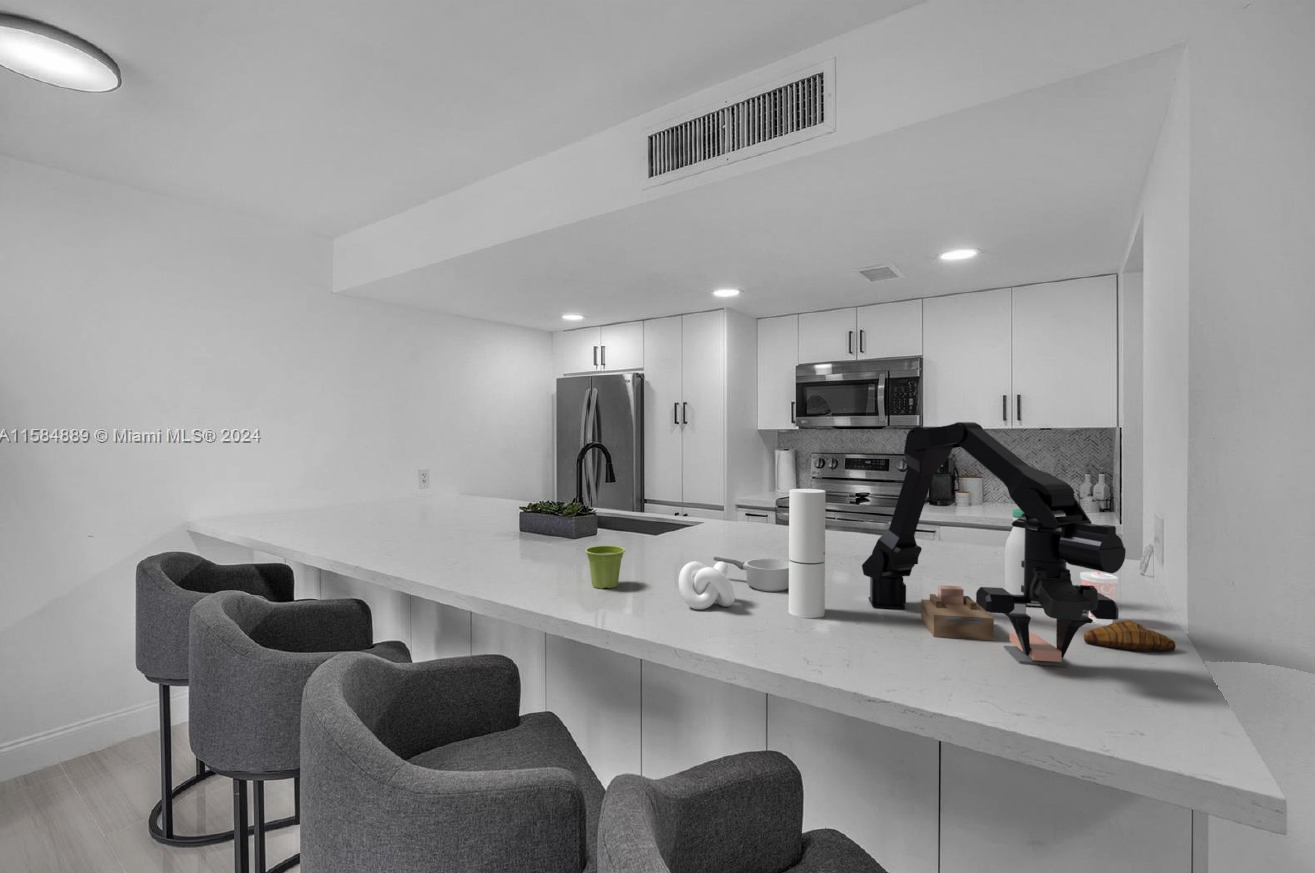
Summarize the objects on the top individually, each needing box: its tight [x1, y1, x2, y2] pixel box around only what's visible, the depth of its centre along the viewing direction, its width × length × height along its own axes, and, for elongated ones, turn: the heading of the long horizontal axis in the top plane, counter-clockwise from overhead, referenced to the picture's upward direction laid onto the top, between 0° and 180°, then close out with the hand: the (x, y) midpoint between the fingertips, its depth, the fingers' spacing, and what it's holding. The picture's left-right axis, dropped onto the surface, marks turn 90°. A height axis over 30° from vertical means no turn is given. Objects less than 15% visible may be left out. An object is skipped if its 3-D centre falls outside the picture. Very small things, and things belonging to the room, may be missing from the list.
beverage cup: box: [1079, 570, 1119, 626], centre depth 120 cm, size 6×6×14 cm
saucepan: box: [713, 556, 789, 593], centre depth 147 cm, size 12×20×6 cm, turn 60°
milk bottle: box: [1004, 508, 1033, 602], centre depth 133 cm, size 8×8×20 cm
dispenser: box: [920, 584, 995, 641], centre depth 115 cm, size 10×10×7 cm
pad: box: [1003, 645, 1069, 667], centre depth 102 cm, size 7×7×1 cm
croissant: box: [1083, 619, 1177, 652], centre depth 106 cm, size 14×7×5 cm, turn 75°
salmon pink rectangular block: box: [1009, 631, 1063, 662], centre depth 102 cm, size 4×10×2 cm, turn 169°
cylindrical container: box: [788, 488, 826, 619], centre depth 125 cm, size 7×7×25 cm
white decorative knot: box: [678, 560, 736, 611], centre depth 130 cm, size 11×12×9 cm
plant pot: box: [585, 545, 626, 590], centre depth 146 cm, size 9×9×9 cm
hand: (1043, 655), depth 98 cm, fingers open, 5 cm apart
